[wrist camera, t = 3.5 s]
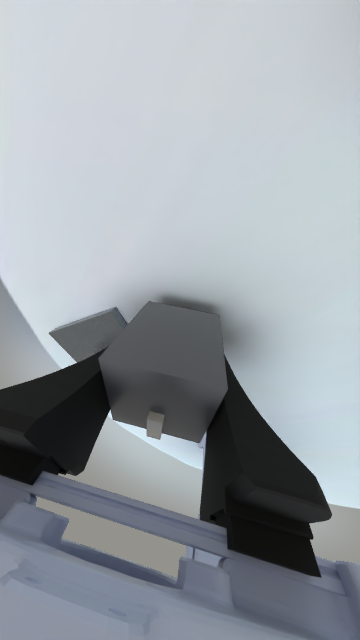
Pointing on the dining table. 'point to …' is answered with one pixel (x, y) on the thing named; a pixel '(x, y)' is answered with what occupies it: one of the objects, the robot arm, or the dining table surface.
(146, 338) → the grey cube with tab
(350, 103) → the dining table surface
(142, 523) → the robot arm
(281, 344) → the dining table surface
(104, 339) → the plate
